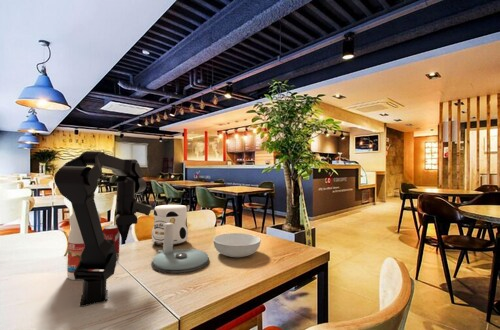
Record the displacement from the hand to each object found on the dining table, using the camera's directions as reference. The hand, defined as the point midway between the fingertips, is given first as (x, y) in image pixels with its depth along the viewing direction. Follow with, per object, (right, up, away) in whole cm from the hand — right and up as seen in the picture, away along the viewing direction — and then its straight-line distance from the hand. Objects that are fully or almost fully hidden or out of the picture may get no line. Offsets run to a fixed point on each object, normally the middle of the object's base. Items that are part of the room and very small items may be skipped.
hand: (124, 240), depth 88 cm
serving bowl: (+38, -14, +24) cm, 47 cm away
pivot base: (+16, -13, +14) cm, 24 cm away
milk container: (+4, -13, +38) cm, 40 cm away
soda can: (-15, -12, +19) cm, 27 cm away
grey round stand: (+15, -11, +13) cm, 23 cm away
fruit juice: (-14, -12, -1) cm, 18 cm away
